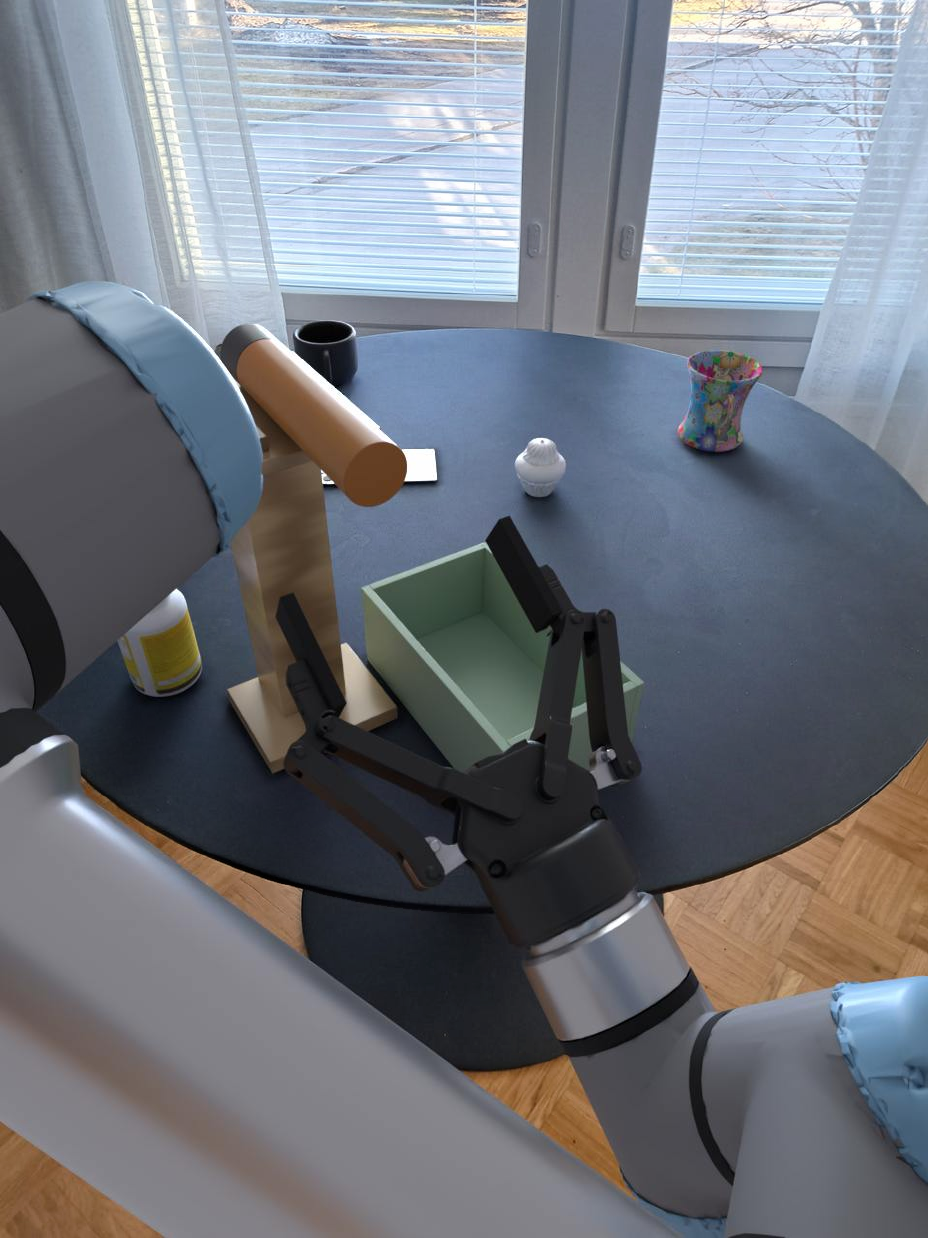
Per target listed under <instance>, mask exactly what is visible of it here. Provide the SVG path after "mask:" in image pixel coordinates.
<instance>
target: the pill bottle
mask: <svg viewBox="0 0 928 1238" xmlns="http://www.w3.org/2000/svg"><path fill="white" fill-rule="evenodd" d="M187 604H188V603H187V600H186V598H185V596H184V595H183V593H182V592H181V591H180V590H179V589H178V588H177V589H175V590H174V591H173V592H172V593H171V594H170V595H169V596H167V597H166V598H165V599H164V600H163V601H162V602H161V603H159V604H158V605H157V606H156V607H155V608H154V609H153V610H151V611H150V612H149V613H148V614H147V615H146V616H145V617H144V618H142V619H141V620H140V621H139V622H138V623H137V624H136V625H134V626H133V627H132V628H131V629H130V630H129V631H128V632H126V633H125V634H124V635H123V636H122V637H121V638H120V639H118V640H117V641H116V642H117V644H118V647H119V648H120V649H119V650H120V653H121V655H122V659H123V661H124V664H125V667H126V670H127V673H128V675H129V678H130V681H131V683H132V685H133V687H134V688H135V689H136V690H137V691H138V692H140V693H142V694H144V695H146V696H149V697H155V698H164V697H171V696H175V695H178V694H180V693H183V692H184V691H186V690H188V689H189V688H191V687H192V686H194V684H195V683H196V682H197V681H198V679H199V678H200V676H201V673H202V671H203V662H202V656H201V653H200V649H199V646H198V645H199V644H198V642H197V638H196V634H195V630H194V627H193V623H192V620H191V616H190V610H189V608H188V605H187Z"/></svg>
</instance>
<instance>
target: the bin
mask: <svg viewBox="0 0 928 1238" xmlns="http://www.w3.org/2000/svg"><path fill="white" fill-rule="evenodd" d="M360 592H361V599H362V600H361V602H362V603H361V605H362V615H363V625H364V637H365V649H366V660H367V661H368V662H369V664H371V666H372V667H373V668H374V669H375V671H376V672H377V674H378V675H379V676H380V677H381V679H382V680H383V681H384V682H385V684H386V685H387V686H388V687H389V688H390V690H391V691H392V693H393V694H394V695H395V696H396V697H397V699H398V700H399V701H400V702H401V704H402V705H403V706H404V707H405V709H406V710H407V711H408V712H409V714H410V715H411V716H412V718H414V720H415V721H416V722H417V724H418V725H419V726H420V727H421V729H422V730H423V732H424V733H425V734H426V735H427V736H428V737H429V739H430V740H431V741H432V742H433V744H434V745H435V746H436V748H437V749H438V750H439V751H440V752H441V755H443V756H444V757H445V759H446V760H447V761H448V763H449V764H450V765H451V766H452V768H454V769H456V770H458V771H461V772H463V773H465V772H466V770H467V769H469V768H470V767H471V766H472V765H474V764H475V763H476V762H478V761H480V760H482V759H484V758H486V757H488V756H493V755H499V754H502V753H503V752H504V751H505V750H507V749H508V748H509V747H511V746H512V745H513V744H515V743H517V742H519V741H521V740H523V739H525V738H526V740H527V741H529V739H530V735H531V733H532V731H533V729H534V725H535V719H536V713H537V708H538V702H539V696H540V691H541V685H542V679H543V673H544V668H545V662H546V656H547V651H548V645H549V639H550V635H549V636H548V637H547V636H546V635H547V633H548V632H549V631H550V630H551V629H552V628H551V626H549V627H548V628H547V629H545V630H542V631H540V632H538V633H536V632H535V631H534V629H533V627H532V625H531V623H530V622H529V620H528V618H527V616H526V614H525V612H524V611H523V609H522V607H521V605H520V603H519V602H518V600H517V598H516V596H515V594H514V592H513V591H512V589H511V587H510V585H509V583H508V582H507V580H506V578H505V576H504V574H503V572H502V571H501V569H500V567H499V565H498V563H497V562H496V560H495V558H494V556H493V554H492V552H491V551H490V549H489V547H488V545H487V543H486V542H481V543H479V544H476V545H473V546H471V547H468V548H466V549H463V550H460V551H457V552H454V553H452V554H448V555H446V556H444V557H441V558H438V559H435V560H433V561H430V562H427V563H424V564H421V565H420V566H416V567H414V568H411V569H408V570H405V571H403V572H399V573H398V574H395V575H392V576H389V577H386V578H382V579H381V580H379V581H378V580H377V581H375V582H373V583H370V584H368V585H364V586H362V587H361V589H360ZM620 663H621V672H622V682H623V691H624V700H625V710H626V719H627V729H628V736H629V738H630V740H631V742H632V743H633V741H634V736H635V731H636V727H637V722H638V717H639V711H640V707H641V702H642V698H643V692H644V688H645V682H644V681H643V679H641V678H640V677H639V676H638V675H637V674H636V673H635V672H633V671H632V670H631V669H630V667H628V666H627V665H626V664H624V662H623V661H621V660H620ZM570 723H571V724H572V734H571V741H570V747H569V754H568V759H570V760H571V761H573V762H575V763H577V764H578V765H580V766H582V767H584V768H585V769H587V770H588V771H589V770H590V765H589V757H590V755H591V754H592V748H591V744H590V737H589V727H588V716H587V704H586V693H585V682H584V671H583V659H582V649H581V656H580V662H579V668H578V675H577V681H576V688H575V694H574V701H573V707H572V713H571V720H570Z"/></svg>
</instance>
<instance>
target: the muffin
mask: <svg viewBox="0 0 928 1238" xmlns="http://www.w3.org/2000/svg"><path fill="white" fill-rule="evenodd" d="M566 468H567V465H566V460H565V458H564V457H563V456H562V455H561V453H560V452H559V451H558V449H557V445H556V443H555V442H553V441H552V440H551V439H549V438H546V437H540V438H539V437H537V438H533V439H532V440H531V441H528V444H527V445H526V448H525V450H524V451H523V452H521V453H520V454H519V455H518V456H517V458H516V459H515V462H514V469H515V472H516V476H517V478H518V479H519V481H520V484H521V485H522V488H523V489H524V491H525V492H526V494H528V495H529V496H532V497H535V498H543V497H547V496H549V495H551V494H552V492H553V491H554V490H555V488H556V487H557V486H558V485H559V483H560V482H561V481H562V478H563V475H564V474H565V472H566Z"/></svg>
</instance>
